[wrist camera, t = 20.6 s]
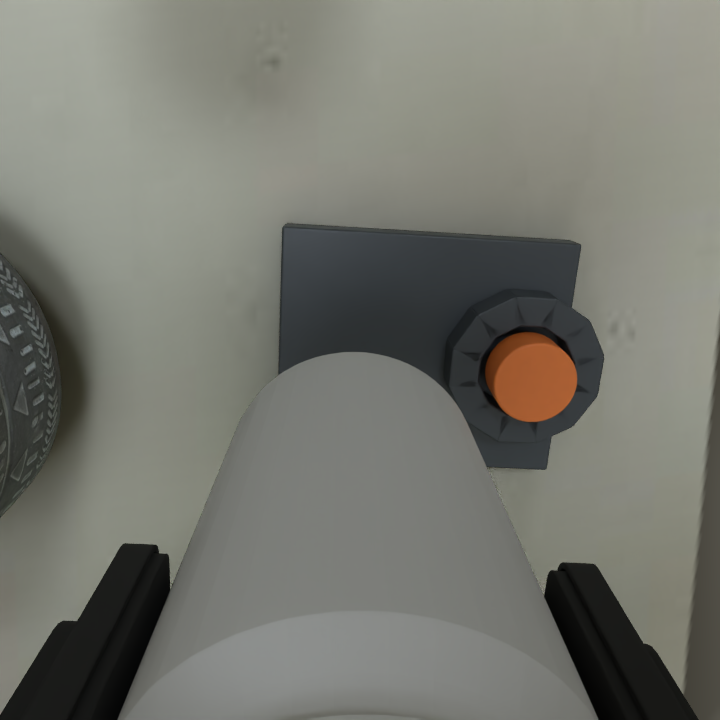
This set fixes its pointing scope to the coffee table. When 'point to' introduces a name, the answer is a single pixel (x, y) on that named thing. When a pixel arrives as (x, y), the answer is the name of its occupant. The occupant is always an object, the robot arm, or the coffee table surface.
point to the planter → (24, 386)
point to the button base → (440, 316)
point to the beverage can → (355, 569)
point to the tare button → (530, 377)
